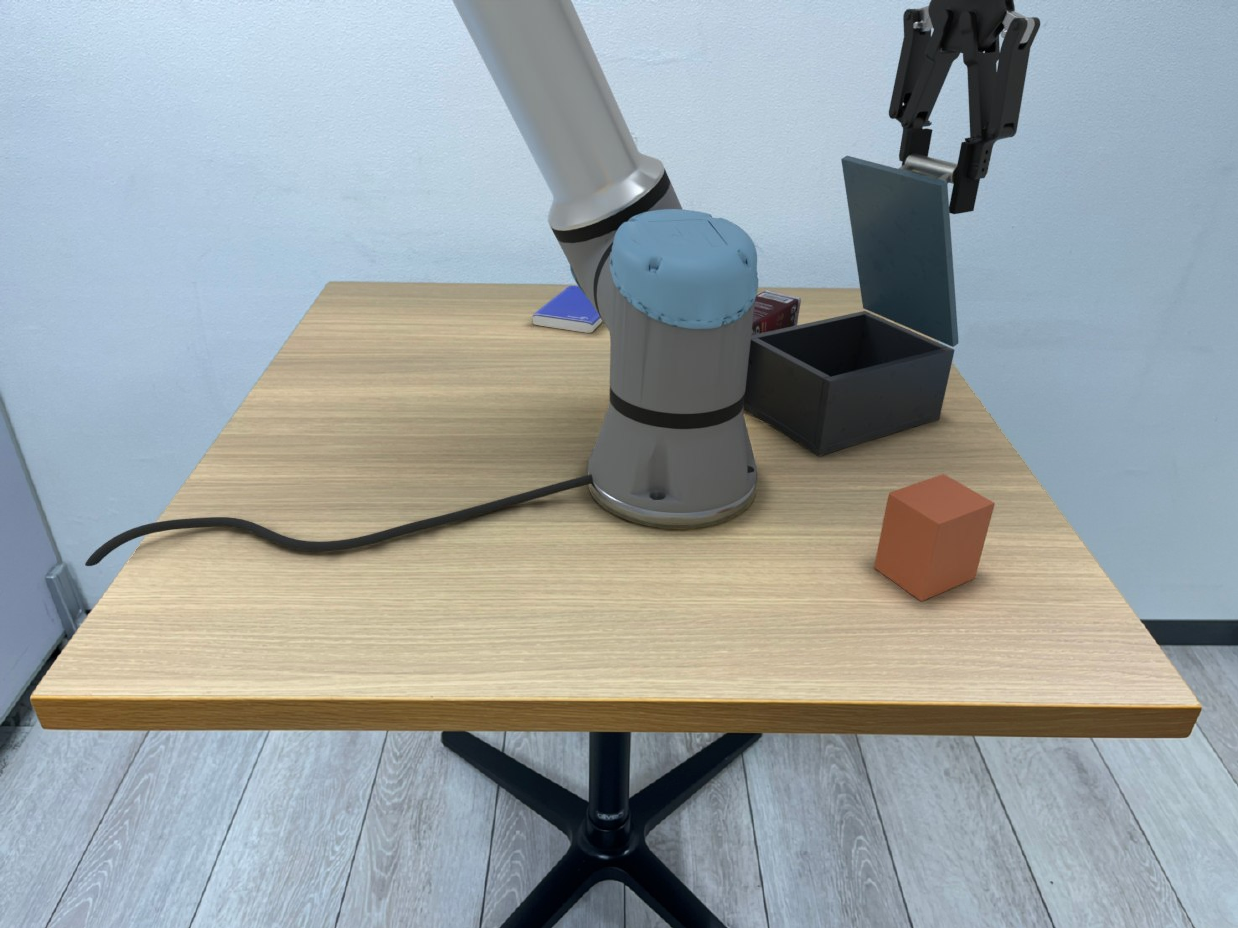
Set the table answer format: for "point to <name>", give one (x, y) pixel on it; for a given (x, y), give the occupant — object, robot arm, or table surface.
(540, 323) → the blue book
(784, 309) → the supplement box
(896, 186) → the box lid
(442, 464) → the table surface
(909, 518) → the reddish-orange cube block
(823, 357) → the black box
